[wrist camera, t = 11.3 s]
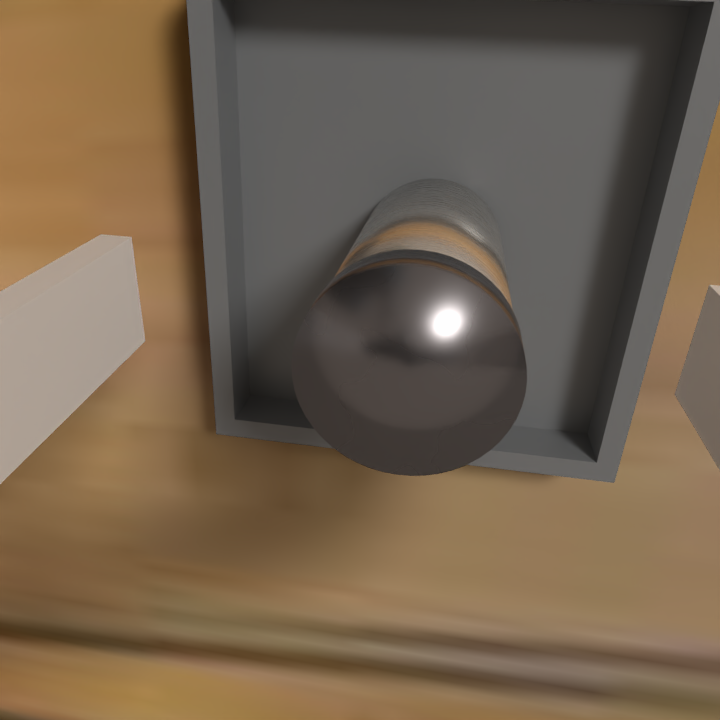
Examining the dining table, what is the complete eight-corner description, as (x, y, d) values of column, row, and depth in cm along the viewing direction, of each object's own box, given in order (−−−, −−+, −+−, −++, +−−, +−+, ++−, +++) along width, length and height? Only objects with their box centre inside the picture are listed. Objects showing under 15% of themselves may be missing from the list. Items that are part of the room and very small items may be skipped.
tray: (214, -40, 21) (182, -51, 18) (720, -23, 19) (756, -33, 16) (236, 402, 28) (216, 434, 26) (600, 444, 26) (614, 482, 24)
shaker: (364, 169, 22) (292, 253, 13) (515, 182, 22) (547, 279, 13) (356, 307, 24) (290, 459, 15) (492, 322, 24) (506, 489, 15)
